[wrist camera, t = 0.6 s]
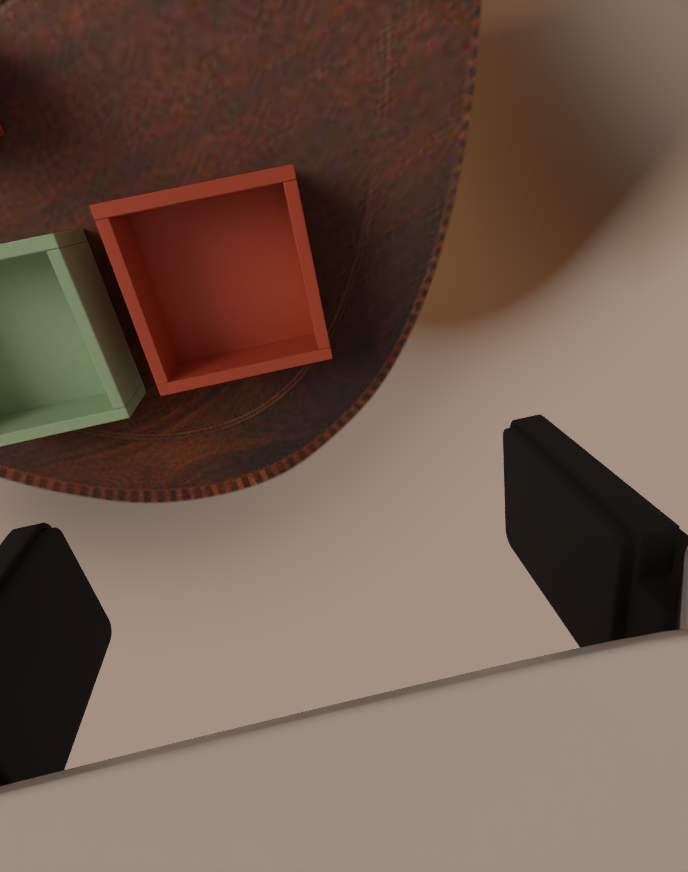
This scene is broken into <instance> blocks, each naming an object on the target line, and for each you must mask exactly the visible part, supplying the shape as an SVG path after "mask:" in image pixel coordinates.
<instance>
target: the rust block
mask: <svg viewBox="0 0 688 872" xmlns="http://www.w3.org/2000/svg"><path fill="white" fill-rule="evenodd" d="M3 135H5V133H4V131H3V128H2V126H1V124H0V136H3Z"/></svg>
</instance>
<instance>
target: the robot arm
mask: <svg viewBox="0 0 688 872" xmlns="http://www.w3.org/2000/svg"><path fill="white" fill-rule="evenodd" d="M503 448H504V449H503V450H504V482H505V483H504V484H505V519H506V534H507V538H508V541H509V544H510V546H511V547H512V549H513V550H514V552H515V553H516V555H517V556H518V558H519V559H520V561H521V562H522V563H523V565H524V566H525V568H526V569H527V571H528V572H529V574H530V575H531V577H532V578H533V579H534V581H535V582H536V584H537V585H538V587H539V588H540V590H541V591H542V593H543V594H544V595H545V597H546V598H547V600H548V601H549V603H550V604H551V606H552V607H553V609H554V610H555V611H556V613H557V614H558V616H559V617H560V619H561V620H562V622H563V623H564V625H565V626H566V627H567V629H568V630H569V632H570V633H571V635H572V636H573V638H574V639H575V641H576V642H577V643H578V645H579V646H580V648H577V649H572V650H568V651H563V652H559V653H554V654H549V655H545V656H541V657H536V658H531V659H526V660H522V661H517V662H513V663H509V664H505V665H500V666H496V667H492V668H488V669H483V670H479V671H475V672H471V673H466V674H462V675H458V676H454V677H449V678H445V679H441V680H437V681H432V682H428V683H424V684H419V685H415V686H411V687H406V688H402V689H398V690H394V691H389V692H385V693H381V694H377V695H372V696H368V697H364V698H360V699H356V700H351V701H347V702H343V703H339V704H335V705H331V706H326V707H322V708H318V709H314V710H310V711H306V712H301V713H297V714H294V715H289V716H285V717H281V718H276V719H272V720H269V721H264V722H260V723H256V724H252V725H247V726H243V727H239V728H235V729H231V730H227V731H223V732H218V733H214V734H210V735H206V736H202V737H198V738H194V739H189V740H186V741H181V742H177V743H173V744H169V745H165V746H161V747H157V748H153V749H149V750H145V751H141V752H137V753H133V754H129V755H125V756H120V757H116V758H112V759H108V760H105V761H100V762H96V763H92V764H88V765H84V766H80V767H76V768H72V769H68V770H64V768H65V765H66V763H67V760H68V757H69V755H70V752H71V749H72V746H73V743H74V741H75V738H76V735H77V732H78V729H79V726H80V724H81V721H82V718H83V715H84V712H85V710H86V707H87V704H88V701H89V698H90V696H91V693H92V690H93V687H94V684H95V682H96V678H97V676H98V673H99V670H100V668H101V665H102V662H103V659H104V656H105V654H106V651H107V648H108V645H109V642H110V639H111V624H110V621H109V619H108V617H107V615H106V613H105V612H104V610H103V608H102V606H101V604H100V602H99V600H98V599H97V597H96V595H95V593H94V591H93V589H92V587H91V585H90V584H89V582H88V580H87V578H86V576H85V574H84V572H83V570H82V569H81V567H80V565H79V563H78V561H77V559H76V558H75V556H74V554H73V552H72V550H71V548H70V546H69V544H68V543H67V541H66V539H65V537H64V535H63V533H62V532H61V531H60V530H59V529H58V528H52V527H51V526H50V525H48V524H47V523H41V524H36V525H31V526H27V527H22V528H17V529H14V530H12V531H11V532H10V533H9V534H8V536H7V537H6V538H5V539H4V541H3V542H2V543H1V545H0V872H688V535H687V534H685V533H684V532H683V531H682V530H680V529H679V526H678V525H677V524H676V523H675V522H673V521H672V520H671V519H670V518H668V517H667V516H666V515H665V514H663V513H662V512H661V511H660V510H659V509H657V508H656V507H655V506H654V505H652V504H651V503H650V502H649V501H647V500H646V499H645V498H644V497H642V496H641V495H640V494H639V493H637V492H636V491H635V490H634V489H633V488H631V487H630V486H629V485H628V484H626V483H625V482H624V481H623V480H621V479H620V478H619V477H618V476H616V475H615V474H614V473H613V472H612V471H610V470H609V469H608V468H607V467H605V466H604V465H603V464H602V463H600V462H599V461H598V460H597V459H595V458H594V457H593V456H592V455H590V454H589V453H588V452H587V451H586V450H584V449H583V448H582V447H580V446H579V445H578V444H577V443H576V442H574V441H573V440H572V439H571V438H569V437H568V436H567V435H566V434H564V433H563V432H562V431H561V430H560V429H558V428H557V427H556V426H555V425H553V424H552V423H551V422H550V421H548V420H547V419H546V418H545V417H543V416H542V415H535V416H531V417H526V418H521V419H517V420H513V421H512V422H511V425H510V428H508V429H505V430H504V432H503Z"/></svg>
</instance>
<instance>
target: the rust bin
mask: <svg viewBox="0 0 688 872" xmlns="http://www.w3.org/2000/svg"><path fill="white" fill-rule="evenodd" d="M90 209H91V212H92V214H93V217H94V220H96V221H95V223H96V225H97V228H98V231H99V233H100V236H101V239H102V241H103V244H104V247H105V249H106V252H107V255H108V257H109V260H110V262H111V265H112V268H113V270H114V273H115V276H116V278H117V281H118V284H119V286H120V289H121V292H122V294H123V297H124V300H125V302H126V305H127V308H128V310H129V313H130V316H131V318H132V321H133V324H134V326H135V329H136V332H137V334H138V337H139V340H140V342H141V345H142V348H143V350H144V353H145V356H146V358H147V361H148V364H149V366H150V369H151V372H152V374H153V377H154V380H155V382H156V385H157V388H158V390H159V393H160V396H164V395H169V394H173V393H178V392H182V391H187V390H191V389H196V388H201V387H205V386H210V385H214V384H219V383H223V382H228V381H232V380H237V379H242V378H246V377H251V376H255V375H260V374H264V373H269V372H273V371H278V370H283V369H287V368H292V367H296V366H301V365H305V364H310V363H315V362H319V361H324V360H328V359H332V358H333V357H332V352H331V348H330V343H329V338H328V333H327V328H326V323H325V318H324V313H323V308H322V303H321V298H320V293H319V288H318V283H317V278H316V273H315V268H314V263H313V258H312V253H311V248H310V243H309V238H308V233H307V228H306V223H305V218H304V213H303V208H302V203H301V198H300V193H299V188H298V183H297V180H296V173H295V168H294V165H293V164H290V165H285V166H280V167H275V168H270V169H265V170H260V171H255V172H250V173H245V174H240V175H235V176H230V177H225V178H220V179H216V180H211V181H206V182H201V183H196V184H191V185H186V186H181V187H176V188H171V189H166V190H161V191H156V192H151V193H147V194H142V195H137V196H132V197H127V198H122V199H117V200H112V201H107V202H102V203H97V204H92V205H90Z"/></svg>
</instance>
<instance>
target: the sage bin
mask: <svg viewBox="0 0 688 872" xmlns="http://www.w3.org/2000/svg"><path fill="white" fill-rule="evenodd" d="M145 393H146V390H145V387H144V385H143V382H142V379H141V377H140V374H139V372H138V369H137V367H136V364H135V361H134V359H133V356H132V354H131V351H130V348H129V346H128V343H127V341H126V338H125V336H124V333H123V330H122V328H121V325H120V323H119V320H118V318H117V315H116V312H115V310H114V307H113V305H112V302H111V299H110V297H109V294H108V292H107V289H106V287H105V284H104V281H103V279H102V276H101V274H100V271H99V269H98V266H97V263H96V261H95V258H94V256H93V253H92V250H91V248H90V245H89V243H88V240H87V238H86V235H85V232H84V230H83V229H78V230H71V231H65V232H58V233H52V234H47V235H42V236H37V237H32V238H27V239H22V240H17V241H13V242H8V243H3V244H0V446H4V445H9V444H13V443H18V442H23V441H27V440H32V439H36V438H41V437H45V436H50V435H54V434H59V433H63V432H68V431H72V430H77V429H82V428H86V427H91V426H95V425H100V424H104V423H109V422H113V421H118V420H122V419H127V418H130V416H131V415H132V413H133V412H134V410H135V409H136V407H137V406H138V404H139V403H140V401H141V399H142V398H143V396H144V395H145Z"/></svg>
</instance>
